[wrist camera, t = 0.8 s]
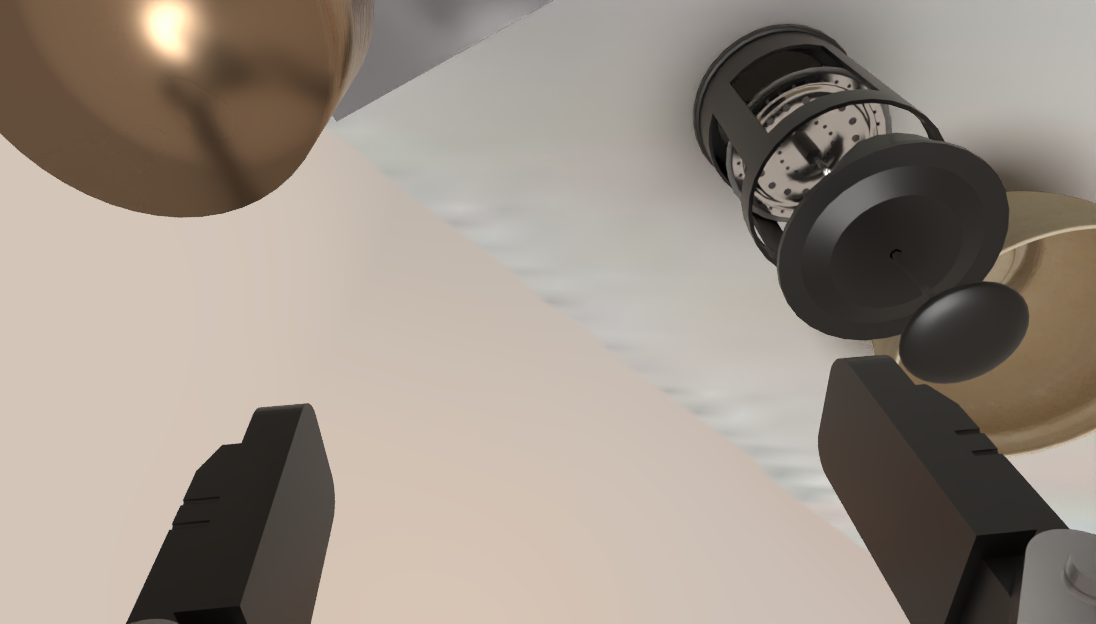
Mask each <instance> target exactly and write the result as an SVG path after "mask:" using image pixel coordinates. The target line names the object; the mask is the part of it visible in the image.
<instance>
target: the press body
mask: <svg viewBox="0 0 1096 624" xmlns="http://www.w3.org/2000/svg"><path fill="white" fill-rule="evenodd" d="M551 1H553V0H374V21H373V31H372V36H371V40H370V44H369V48H368V52H367V54H366V56H365V59H364V61H363V64H362V66H361V68H360V70H359V72H358V73H357V75H356V77H355V78H354V80H353V82H352V83H351V85H350V87H349V88H348V90H347V92H346V93H345V95H344V96H343V98H342V100H341V101H340V103H339V104H338V106H337V108H336V109H335V111H334V113H333V114H332V116H333V117H334V118H335V120H336V121H339V120H340V119H342V118H344V117H346V116H347V115H349V114H351V113H353V112H355V111H356V110H358V109H360V108H362V107H364V106H365V105H367V104H369V103H371V102H372V101H374V100H376V99H378V98H380V97H381V96H383V95H385V94H387V93H389V92H390V91H392V90H394V89H396V88H398V87H399V86H401V85H403V84H405V83H406V82H408V81H410V80H412V79H414V78H415V77H417V76H419V75H421V74H423V73H424V72H426V71H428V70H430V69H431V68H433V67H435V66H437V65H439V64H440V63H442V62H444V61H446V60H448V59H449V58H451V57H453V56H455V55H457V54H458V53H460V52H462V51H464V50H465V49H467V48H469V47H471V46H473V45H474V44H476V43H478V42H480V41H482V40H483V39H485V38H487V37H489V36H490V35H492V34H494V33H496V32H498V31H499V30H501V29H503V28H505V27H507V26H508V25H510V24H512V23H514V22H515V21H517V20H519V19H521V18H523V17H524V16H526V15H528V14H530V13H532V12H533V11H535V10H537V9H539V8H541V7H542V6H544V5H546V4H548V3H549V2H551Z"/></svg>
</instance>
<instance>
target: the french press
mask: <svg viewBox="0 0 1096 624" xmlns="http://www.w3.org/2000/svg"><path fill="white" fill-rule="evenodd" d="M782 51H796V52H801V53H804V54H807V55H810V56H812V57H814V58H815V59H817V60H818V61H820V62H821V63H822V64H823V65H824V66H825V67H815V68H807V69H803V70H800V71H796V72H793V73H790V74H787V75H785V76H783V77H781V78H779V79H777V80H775V81H773V82H772V83H770V84H769V85H767V86H766V87H764V88H763V89H761V90H760V91H759V92H758V93H757V94H756V95H755V96H753V97H752V98H751V99H750V100H749V102H748V103H747V104H746V103H745V102H744V100H743V99H742V98H741V96H740V95H739V94H738V92H737V91H736V90H735V88H734V87H733V86H732V84H733V83H734V82H735V81H736V80H737V79H738V78H739V77H740V76H741V75H742V74H743V73H744V72H745V71H746V70H748V69H749V68H750V67H752V66H753V65H754V64H756V63H757V62H759V61H761V60H763V59H765V58H767V57H769V56H771V55H772V54H775V53H779V52H782ZM887 104H888V105H893V106H896V107H899V108H902V109H905V110H908V111H910V112H911V113H913V114H914V115H915V116H916V117H917V118H918V119H919V120H920V121H921V123H922V125H923V127H924V128H925V130H926V132H927V134H928V137H929V139H928V138H925V137H922V136H919V135H914V134H903V133H892V128H891V116H890V112H889V109H888V105H887ZM717 121H718V122H719V124H720V125H721V127H722V129H723V130H724V132H725V133H726V135H727V137H728V138H729V142H728V147H727V148H726V147H725V145H724V144H723V142H722V140H721V138H720V135H719V132H718V126H717ZM694 129H695V134H696V139H697V141H698V144H699V146H700V148H701V150H702V152H703V154H704V155H705V157H706V158H707V159H708V161H709V162H710V164H711V165H712V166H714V167H715V169H716V170H717V172H718V173H719V175H720V176H721V177H722V179H723V180H724V181H725V182H726V183H727V184H728V185H729V186H730V187H731V188H732V189H733V191H734V193H735V194H736V195H737V197H738V198H739V199H740V201H741V205H742V211H743V217H744V220H745V222H746V225H747V227H748V229H749V232H750V234H751V236H752V238H753V239H754V241H755V243H756V245H757V247H758V248H759V249H760V251H761V252H762V253H763V255H764V256H765V257H766V258H767V259H768V260H769V261H770V262H771V263H773V264H774V265H775V266H776V267H777V273H778V280H779V285H780V287H781V290H782V292H783V294H784V297H785V299H786V301H787V303H788V304H789V306H790V307H791V308H792V310H793V311H794V312H795V313H796V315H797V316H798V317H799V318H800V319H802V320H803V321H804V322H805V323H807V324H808V325H809V326H810V327H812V328H814V329H816V330H819V331H821V332H823V333H825V334H827V335H831V336H835V337H839V338H843V339H853V340H873V339H883V338H888V337H893V336H897V335H901V337H900V341H899V357H900V360H901V363H902V364H903V366H904V367H905V369H906V370H907V371H908V372H909V373H910V374H912V375H913V376H914V377H917V378H919V379H921V380H923V381H926V382H930V383H934V384H953V383H960V382H964V381H968V380H971V379H974V378H977V377H979V376H982V375H984V374H986V373H988V372H990V371H991V370H993V369H995V368H996V367H997V366H999V365H1000V364H1002V363H1003V362H1004V361H1005V360H1006V359H1008V358H1009V357H1010V356H1011V355H1012V354H1013V353H1014V352H1015V350H1016V349H1017V348H1018V347H1019V345H1020V344H1021V342H1022V340H1023V339H1024V337H1025V335H1026V332H1027V329H1028V326H1029V310H1028V305H1027V303H1026V301H1025V299H1024V298H1023V296H1022V295H1021V294H1020V293H1019V292H1018V291H1017V290H1015V289H1013V288H1012V287H1010V286H1008V285H1005V284H1002V283H998V282H989V281H983V280H984V279H985V277H986V276H987V275H988V273H989V272H990V271H991V269H992V268H993V266H994V264H995V262H996V260H997V258H998V256H999V254H1000V253H1001V251H1002V249H1003V245H1004V242H1005V238H1006V235H1007V231H1008V224H1009V205H1008V200H1007V195H1006V191H1005V189H1004V187H1003V185H1002V183H1001V181H1000V179H999V177H998V175H997V174H996V173H995V171H994V170H993V169H992V168H991V167H990V166H989V165H988V164H987V163H986V162H985V161H984V160H983V159H982V158H980V157H978V156H977V155H975V154H974V153H972V152H970V151H969V150H967V149H965V148H963V147H960V146H957V145H954V144H951V143H948V142H945V141H944V140H943V138H942V136H941V134H940V132H939V130H938V128H937V127H936V126H935V125H934V124H933V123H932V122H931V121H930V120H929V119H928V118H927V117H926V116H925V115H924V114H923V113H921V112H920V111H919V110H917V109H916V108H915V107H914V106H912V105H911V104H910V103H908V102H907V101H906V100H904V99H903V98H902V97H900V96H899V95H898V94H897V93H895V92H894V91H893V90H891V89H890V88H889V87H887V86H886V85H885V84H883V83H882V82H881V81H880V80H878V79H877V78H876V77H874V76H873V75H872V74H870V73H869V72H868V71H867V70H865V69H864V68H863V67H861V66H860V65H859V64H857V63H856V62H855V61H853V60H852V59H851V58H850V57H848V56H847V54H846V52H845V51H844V50H843V49H842V48H841V46H840V45H839V44H838V43H837V42H836V41H835V40H833V39H832V38H830V37H829V36H827V35H826V34H824V33H822V32H821V31H819V30H816V29H813V28H810V27H807V26H800V25H791V24H787V25H778V26H771V27H768V28H764V29H761V30H758V31H755V32H753V33H751V34H749V35H747V36H745V37H743V38H741V39H739V40H738V41H737V42H735V43H734V44H733V45H731V46H730V47H729V48H727V49H726V50H725V51H724V52H723V53H722V54H721V55H720V56H719V57H718V59H717V60H716V61H715V62H714V63H713V64H712V66H711V67H710V69H709V70H708V72H707V74H706V75H705V77H704V78H703V81H702V83H701V86H700V88H699V90H698V93H697V97H696V101H695V106H694ZM777 221H778V222H787V224H786V226H785V228H784V231H782V230H781V228H780V226H779V225H778V223H777ZM754 225H755V227H756V229H757V231H758V233H759V234H760V236H761V238H762V240H763V242H764V243H765V245H764V244H763V243H762V242H761V240H760V239H759V238H758V236H757V234H756V232H755V230H754Z"/></svg>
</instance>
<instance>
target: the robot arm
mask: <svg viewBox="0 0 1096 624" xmlns="http://www.w3.org/2000/svg"><path fill="white" fill-rule="evenodd" d="M818 449H819V456H820V460H821V464H822V467H823V470H824V472H825V474H826V476H827V478H828V480H829V482H830V483H831V485H832V487H833V489H834V490H835V492H836V494H837V496H838V497H839V499H840V501H841V503H842V504H843V506H844V508H845V510H846V511H847V513H848V515H849V517H850V518H851V520H852V522H853V524H854V525H855V527H856V529H857V531H858V532H859V534H860V536H861V538H862V539H863V541H864V543H865V545H866V546H867V548H868V550H869V552H870V553H871V555H872V557H873V559H874V560H875V562H876V564H877V566H878V567H879V569H880V571H881V573H882V574H883V576H884V578H885V580H886V581H887V583H888V585H889V587H890V588H891V590H892V592H893V594H894V595H895V597H896V599H897V601H898V602H899V604H900V606H901V608H902V609H903V611H904V613H905V615H906V617H907V618H908V620H909V622H910V623H911V624H1096V535H1095V534H1091V533H1088V532H1084V531H1078V530H1072V529H1069V528H1068V527H1067V526H1066V524H1065V523H1064V522H1063V521H1062V520H1061V519H1060V518H1059V517H1058V515H1057V514H1056V513H1055V512H1054V511H1053V510H1052V509H1051V508H1050V506H1049V505H1048V504H1047V503H1046V502H1045V501H1044V500H1043V499H1042V497H1041V496H1040V495H1039V494H1038V493H1037V492H1036V491H1035V490H1034V488H1033V487H1032V486H1031V485H1030V484H1029V483H1028V482H1027V481H1026V480H1025V478H1024V477H1023V476H1022V475H1021V474H1020V473H1019V472H1018V471H1017V469H1016V468H1015V467H1014V466H1013V465H1012V464H1011V463H1010V462H1009V460H1008V459H1007V458H1006V457H1005V456H1004V455H1003V454H999V453H998V448H997V447H996V446H995V445H994V444H993V442H992V441H991V440H990V439H989V438H988V437H987V436H986V435H985V433H980V428H979V427H978V426H977V425H976V423H975V422H974V421H973V420H972V419H971V418H970V417H969V416H968V414H967V413H966V412H965V411H964V410H963V409H962V408H961V407H960V405H959V404H958V403H956V402H954V401H953V400H951V399H950V398H948V397H946V396H945V395H943V394H941V393H940V392H938V391H937V390H935V389H933V388H932V387H930V386H929V385H927V384H920V385H915V384H914V383H913V381H912V380H911V379H910V378H909V377H908V375H907V374H906V373H905V372H904V371H903V369H902V368H901V367H900V366H899V365H898V364H897V362H896V361H895V360H894V359H893V358H892V357H890V356H888V355H875V356H864V357H852V358H841V359H837V360H836V361H835V362H834V363H833V365H832V367H831V371H830V376H829V381H828V386H827V392H826V397H825V402H824V408H823V413H822V418H821V424H820V429H819V435H818ZM183 501H184V504H183V505H181V506H180V508H179V510H178V512H177V515H176V516H175V519H174V521H173V523H172V525H173V528H172V530H169V532H168V534H167V536H166V538H165V540H164V543H163V545H162V547H161V549H160V551H159V554H158V556H157V558H156V560H155V562H154V564H153V566H152V569H151V571H150V573H149V575H148V578H147V579H146V582H145V584H144V587H143V588H142V590H141V592H140V595H139V597H138V599H137V601H136V603H135V606H134V608H133V610H132V612H131V614H130V616H129V618H128V621H127V622H126V624H311V619H312V614H313V610H314V605H315V601H316V596H317V592H318V587H319V583H320V578H321V574H322V568H323V564H324V560H325V555H326V550H327V546H328V541H329V537H330V532H331V527H332V523H333V517H334V509H335V494H334V484H333V479H332V474H331V470H330V467H329V463H328V459H327V455H326V452H325V448H324V444H323V441H322V437H321V433H320V429H319V426H318V422H317V419H316V415H315V412H314V409H313V407H312V406H311V405H310V404H309V403H307V404H295V405H284V406H272V407H261V408H258V409H256V411H255V412H254V414H253V416H252V419H251V421H250V423H249V426H248V428H247V431H246V433H245V436H244V438H243V441H242V443H239V444H229V445H222V446H221V447H220V448H219V449H218V450H217V451H216V452H215V453H214V454H213V455H212V456H211V457H210V458H209V459H208V460H207V461H206V462H205V463H204V464H203V465H202V466H201V467H200V468H199V469H198V470H197V471H196V473H195V475H194V477H193V480H192V482H191V484H190V486H189V488H188V490H187V493H186V495H185V497H184V499H183Z"/></svg>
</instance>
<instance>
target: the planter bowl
mask: <svg viewBox="0 0 1096 624" xmlns="http://www.w3.org/2000/svg"><path fill="white" fill-rule="evenodd" d="M1006 195H1007V200H1008V205H1009V224H1008V231H1007V235H1006V238H1005V242H1004V245H1003V249H1002V251H1001V253H1000V254H999V256H998V258H997V260H996V262H995V264H994V266H993V268H992V269H991V271H990V272H989V273H988V275H987V276H986V277H985V279H984V280H983V281H989V282H998V283H1002V284H1005V285H1008V286H1010V287H1012V288H1013V289H1015V290H1017V291H1018V292H1019V293H1020V294H1021V295H1022V296H1023V298H1024V299H1025V301H1026V303H1027V305H1028V310H1029V326H1028V329H1027V332H1026V335H1025V337H1024V339H1023V340H1022V342H1021V344H1020V345H1019V347H1018V348H1017V349H1016V350H1015V352H1014V353H1013V354H1012V355H1011V356H1010V357H1009V358H1008V359H1006V360H1005V361H1004V362H1003V363H1002V364H1000V365H999V366H997V367H996V368H995V369H993V370H991V371H990V372H988V373H986V374H984V375H982V376H979V377H977V378H974V379H971V380H968V381H964V382H960V383H953V384H934V383H930V382H926V381H923V380H921V379H919V378H917V377H914V376H913V375H912V374H910V373H909V372H908V371H907V370H906V369H905V367H904V366H903V364H902V363H901V360H900V357H899V341H900V337H901V335H897V336H893V337H888V338H883V339H873V347H874V352H875V355H888V356H890V357H892V358H893V359H894V360H895V361H896V362H897V364H898V365H899V366H900V367H901V368H902V369H903V371H904V372H905V373H906V374H907V375H908V377H909V378H910V379H911V380H912V381H913V383H914V384H915V385H920V384H927V385H929V386H930V387H932V388H933V389H935V390H937V391H938V392H940V393H941V394H943V395H945V396H946V397H948V398H950V399H951V400H953V401H954V402H956V403H958V404H959V405H960V407H961V408H962V409H963V410H964V411H965V412H966V413H967V414H968V416H969V417H970V418H971V419H972V420H973V421H974V422H975V423H976V425H977V426H978V427H979V428H980V433H985V435H986V436H987V437H988V438H989V439H990V440H991V441H992V442H993V444H994V445H995V446H996V447H997V448H998V453H999V454H1003V455H1004V456H1005V457H1006V458H1007V457H1015V456H1021V455H1026V454H1032V453H1036V452H1040V451H1044V450H1047V449H1051V448H1054V447H1058V446H1061V445H1063V444H1066V443H1069V442H1072V441H1074V440H1077V439H1079V438H1082V437H1084V436H1087V435H1089V434H1091V433H1093V432H1095V431H1096V203H1093V202H1090V201H1086V200H1083V199H1079V198H1075V197H1071V196H1066V195H1060V194H1054V193H1045V192H1033V191H1010V192H1006Z"/></svg>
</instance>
